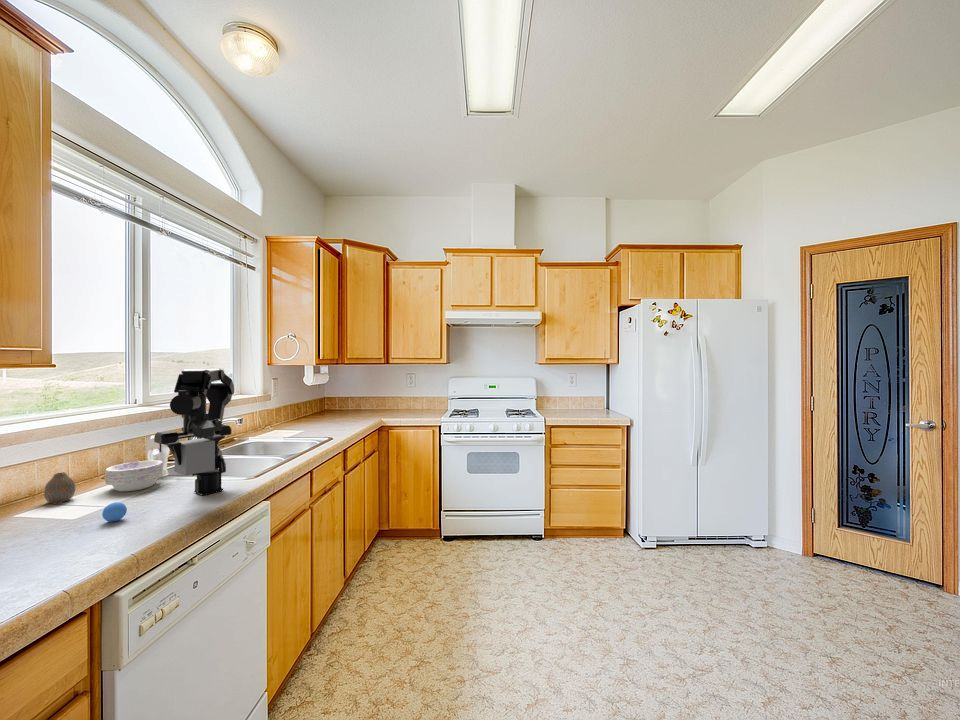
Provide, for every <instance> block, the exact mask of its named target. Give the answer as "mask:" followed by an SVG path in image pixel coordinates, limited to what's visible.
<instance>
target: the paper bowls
mask: <svg viewBox="0 0 960 720" xmlns="http://www.w3.org/2000/svg"><path fill="white" fill-rule="evenodd" d="M104 472H105V473H104V474H105V477H104V479H105V482H104V483H105V485H108V486H112V487H113V489H114V490H115V491H118V492H133V491H140V490H144V489H148V488H150V487H152V486H153V485H155V483H156V482H157V480H158V479H159V477H161V476H163V462H162V461H157V460H150V461H148V460H140V461H131V462H124V463H121V464H115V465H111V466H109V467H107V468H106V469H105V471H104ZM161 478H162V477H161Z"/></svg>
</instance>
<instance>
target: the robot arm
mask: <svg viewBox="0 0 960 720" xmlns="http://www.w3.org/2000/svg"><path fill="white" fill-rule="evenodd" d="M173 393H177V395H175V396H174V397H172V399H171V401H170V403H169V408H170V410H171V411H172V413H174V414H175V415H180V416H181V418H183V425H182V427H181V432H180V431H179V432H178V431H173V430H166V431H158V432H156V433H155V434H154V435H153V436H154V442H156V443H159V444H164V445H167V446H168V448H169V449H170V451H169V452H170V453H171V454H172V456H173V459H174V461H175V460H176V462H177V464H178V465H181V450H180V447H181V444H182V443H180V439H181V440H182V439H187V438H194V437H195V439H201V438H205V439H209V440H213V441H215V470H210V471H206V472H201V473H196V474H191V476H193V477H194V476H196V478H195V480H194V490H193V491H194V493H195V492H196V493H195V494H198V493H199V494H198V495H200V494H202V495H201V496H206V495H205V494H207V495H210V494H209V493H211V494H214V493H213V492H215V493H217V492H216V491H219V492H221V491H220V490H223V489H224V488H222V474H223V473H226V472H227V466H226V465H227V464H226V461H225V458H224V456H223V452H222V450H221V448H220V447H219V442H221V440H223V439H225V438H226V436H229V435H232V427H231V426H230V425H227V424H223V419H224V413H225V407H226V406H227V405H228V404H229V403H230V402H231V401H232V398H233V395H234V393H235V385H234V382H233V379H232V378H231V377H230V376H228V375H227V374H226V373H225V370H224V369H223V368H208V369H183V370H181V372H180V373H179V374H178V377H177V381H176V383H175V387H174V391H173ZM207 401H208V402H209V406H208V410H207ZM223 491H224V490H223Z"/></svg>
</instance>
